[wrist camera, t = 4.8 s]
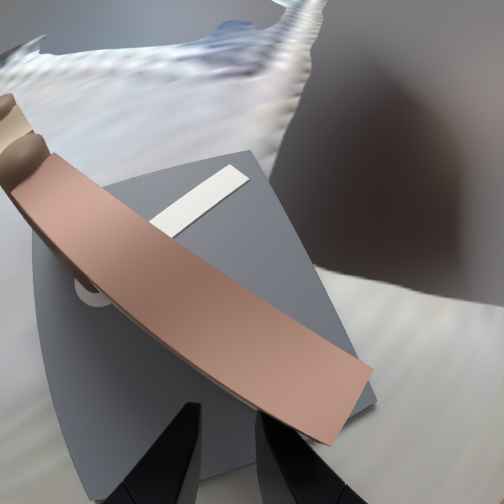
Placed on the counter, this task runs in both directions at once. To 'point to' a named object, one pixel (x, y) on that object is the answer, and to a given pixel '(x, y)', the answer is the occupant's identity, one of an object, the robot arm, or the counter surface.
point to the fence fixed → (11, 121)
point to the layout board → (153, 353)
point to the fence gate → (183, 297)
